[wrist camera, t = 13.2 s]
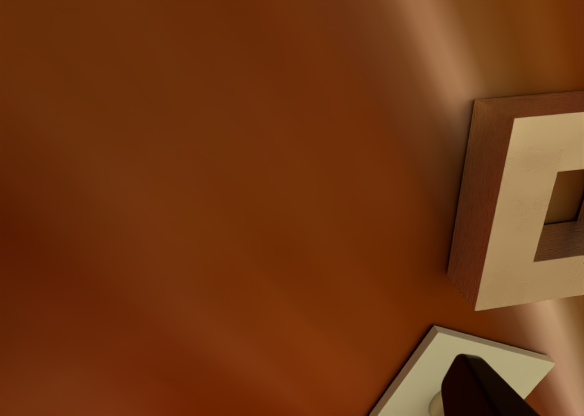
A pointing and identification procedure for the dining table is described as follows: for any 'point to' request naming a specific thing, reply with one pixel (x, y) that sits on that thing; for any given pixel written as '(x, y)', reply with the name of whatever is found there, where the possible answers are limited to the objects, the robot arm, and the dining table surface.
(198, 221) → the dining table surface
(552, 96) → the collar
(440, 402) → the post
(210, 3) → the dining table surface
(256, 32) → the dining table surface
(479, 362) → the robot arm
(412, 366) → the pad
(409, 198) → the dining table surface
